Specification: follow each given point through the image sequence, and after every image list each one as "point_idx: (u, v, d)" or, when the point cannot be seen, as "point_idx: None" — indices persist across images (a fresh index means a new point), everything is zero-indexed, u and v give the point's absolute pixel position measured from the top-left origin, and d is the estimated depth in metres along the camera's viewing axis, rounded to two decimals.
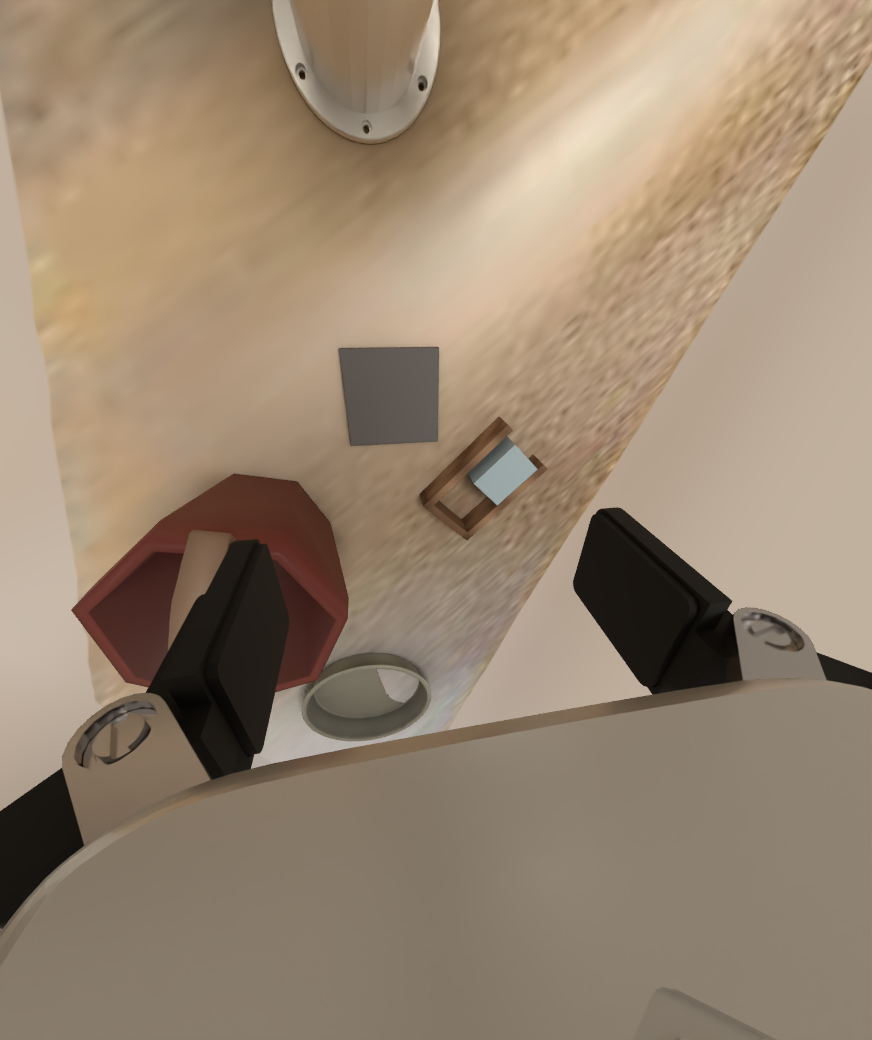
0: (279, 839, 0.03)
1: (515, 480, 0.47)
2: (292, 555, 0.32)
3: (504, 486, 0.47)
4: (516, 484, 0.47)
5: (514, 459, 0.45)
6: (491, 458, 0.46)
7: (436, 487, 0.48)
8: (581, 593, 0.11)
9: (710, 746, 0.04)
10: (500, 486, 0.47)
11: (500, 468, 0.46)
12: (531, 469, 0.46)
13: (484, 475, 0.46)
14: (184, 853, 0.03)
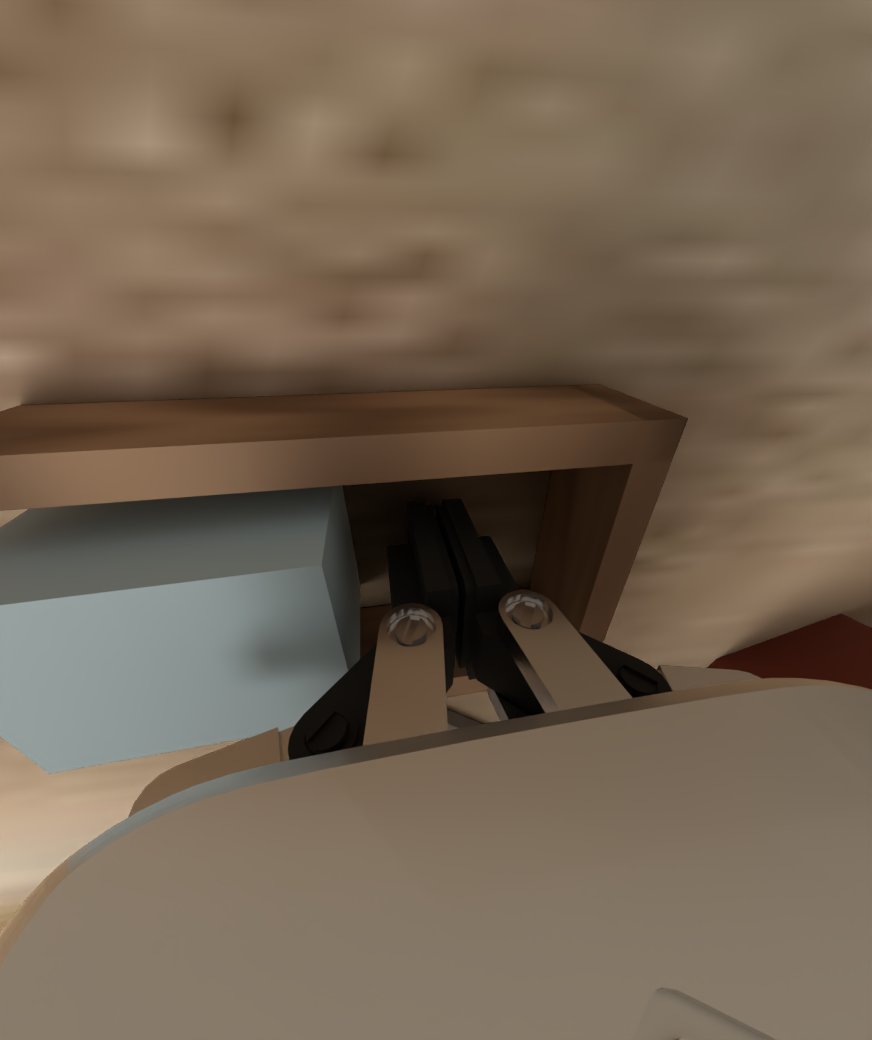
0: (279, 839, 0.03)
1: (108, 640, 0.07)
2: None
3: (202, 642, 0.07)
4: (103, 613, 0.06)
5: (74, 728, 0.08)
6: None
7: None
8: None
9: (711, 746, 0.04)
10: (235, 652, 0.07)
11: (185, 722, 0.08)
12: None
13: (288, 725, 0.09)
14: (184, 853, 0.03)
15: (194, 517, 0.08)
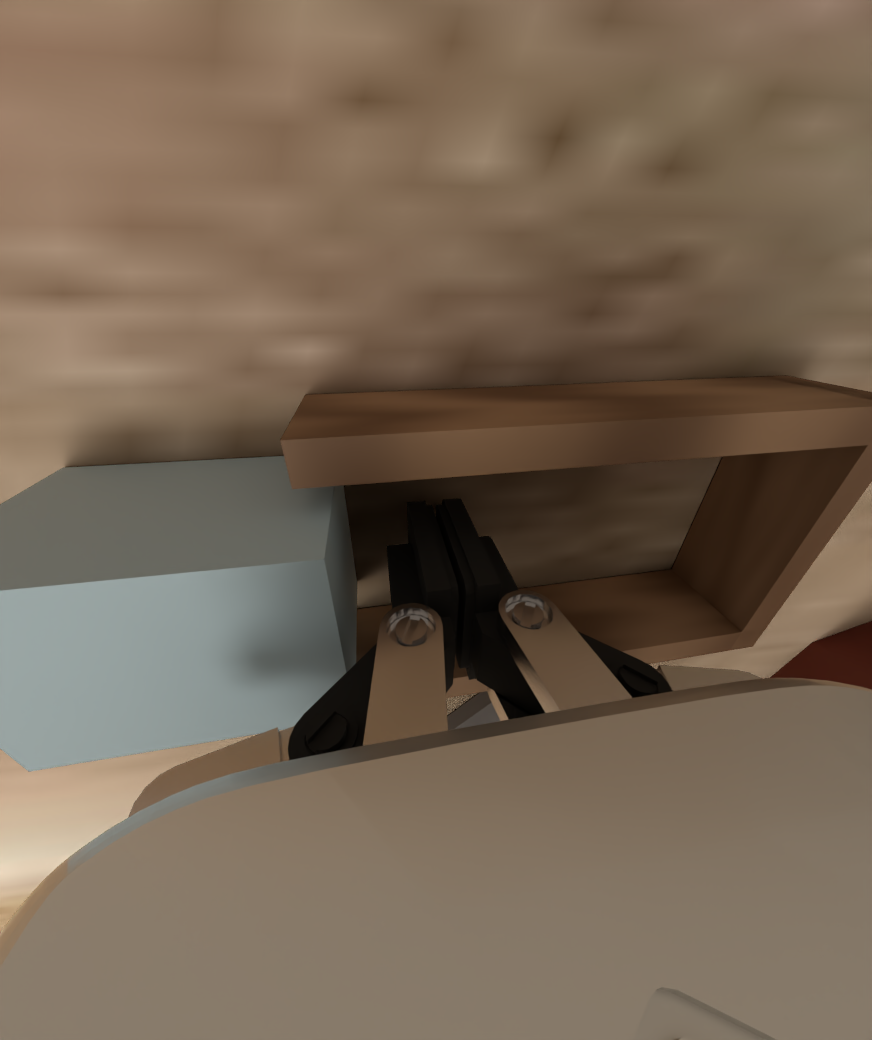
0: (279, 839, 0.03)
1: (96, 631, 0.06)
2: None
3: (196, 636, 0.07)
4: (94, 603, 0.06)
5: (58, 724, 0.07)
6: None
7: None
8: None
9: (710, 746, 0.04)
10: (231, 647, 0.07)
11: (174, 720, 0.08)
12: None
13: (281, 724, 0.09)
14: (182, 854, 0.03)
15: (191, 508, 0.08)
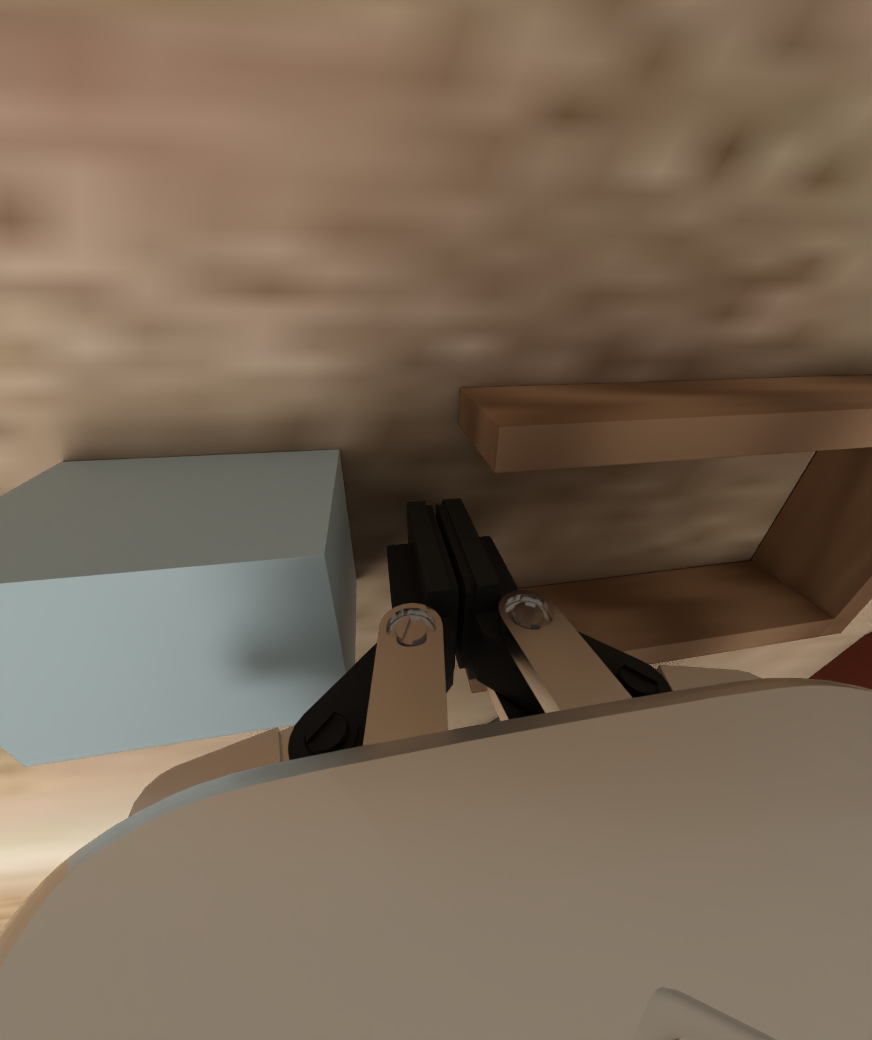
0: (279, 839, 0.03)
1: (95, 626, 0.06)
2: None
3: (194, 632, 0.07)
4: (91, 598, 0.06)
5: (55, 719, 0.07)
6: None
7: None
8: None
9: (711, 746, 0.04)
10: (229, 643, 0.07)
11: (172, 716, 0.08)
12: None
13: (280, 721, 0.09)
14: (184, 853, 0.03)
15: (190, 503, 0.08)
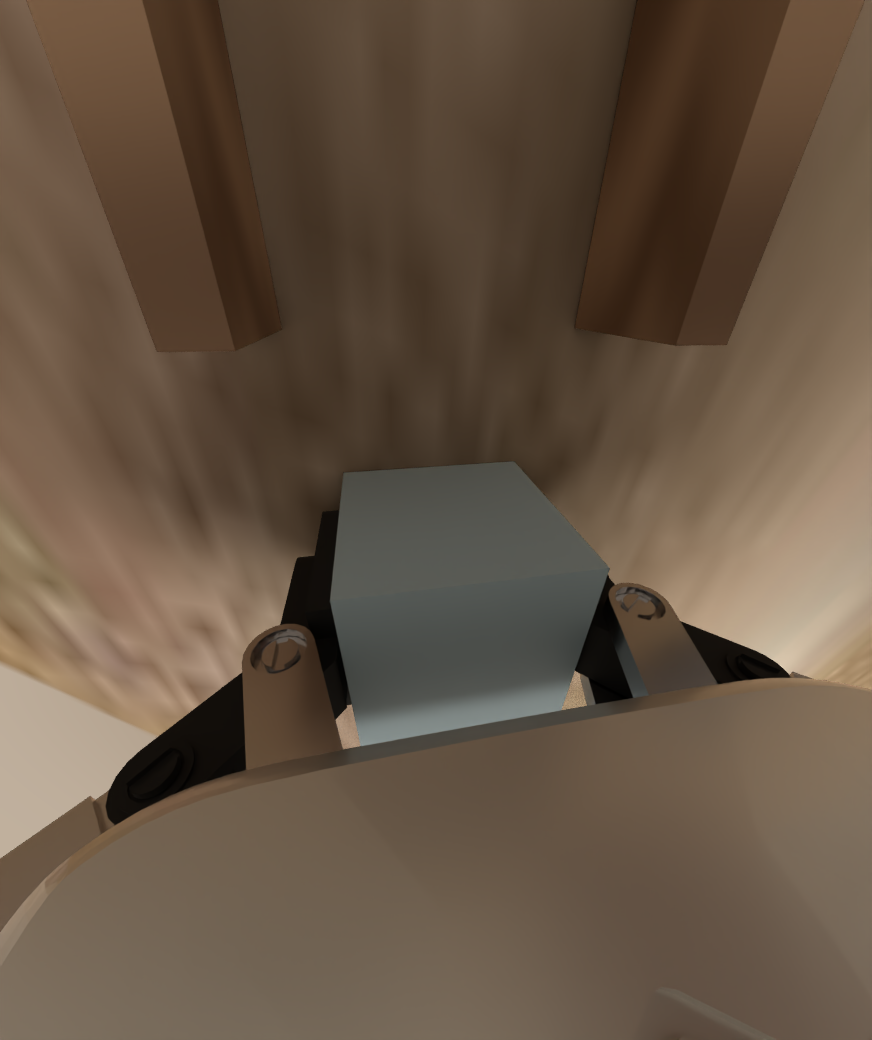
0: (279, 839, 0.03)
1: (406, 722, 0.08)
2: None
3: (422, 680, 0.07)
4: (377, 720, 0.08)
5: None
6: None
7: None
8: None
9: (711, 746, 0.04)
10: (443, 662, 0.07)
11: (527, 695, 0.08)
12: None
13: (579, 631, 0.07)
14: (184, 853, 0.03)
15: None
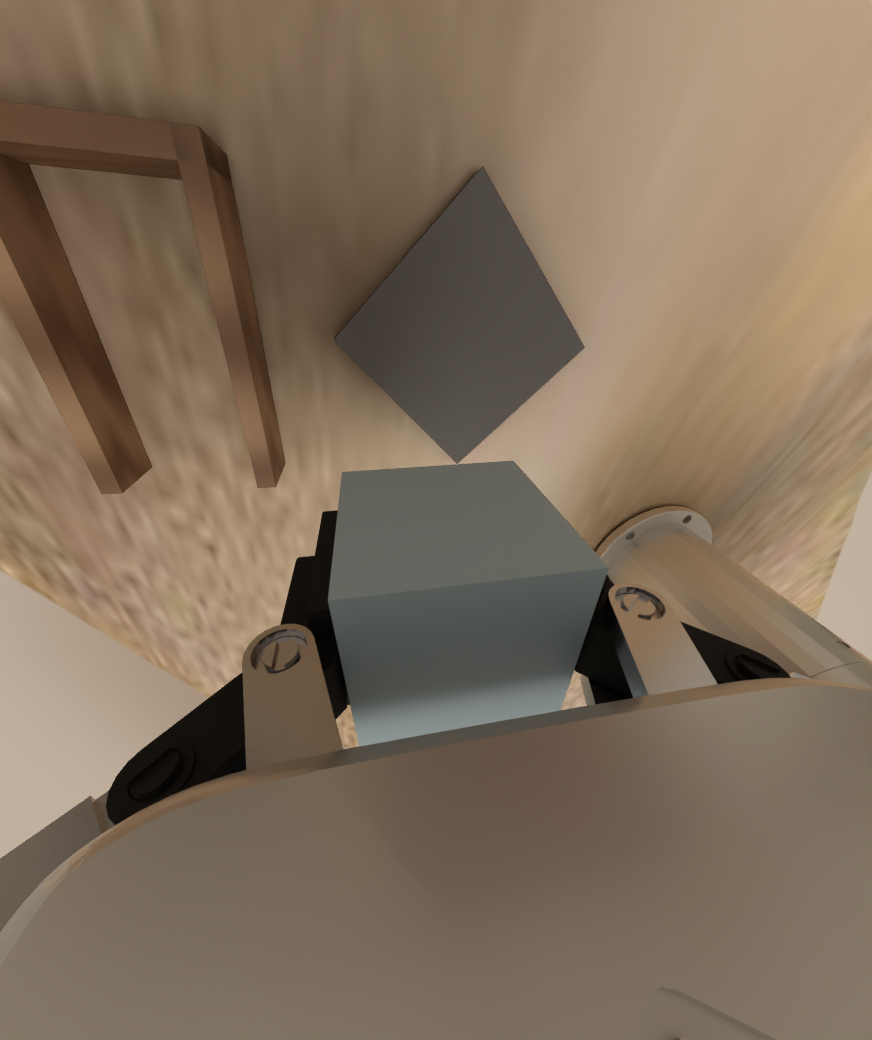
0: (279, 839, 0.03)
1: (405, 721, 0.08)
2: None
3: (421, 680, 0.07)
4: (376, 721, 0.08)
5: None
6: None
7: (228, 227, 0.16)
8: None
9: (710, 746, 0.04)
10: (441, 662, 0.07)
11: (526, 695, 0.08)
12: None
13: (578, 631, 0.07)
14: (183, 854, 0.03)
15: None
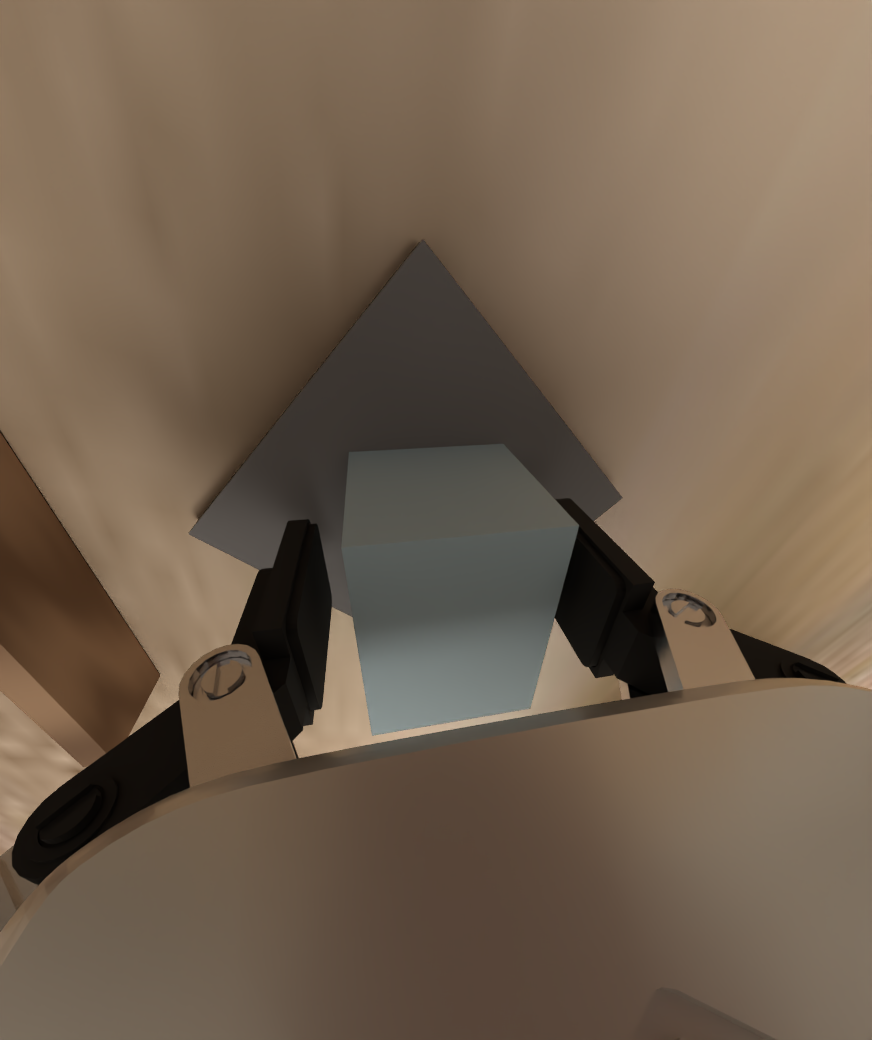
0: (279, 839, 0.03)
1: (405, 667, 0.09)
2: None
3: (419, 626, 0.09)
4: (379, 665, 0.09)
5: (488, 692, 0.11)
6: None
7: None
8: None
9: (711, 746, 0.04)
10: (437, 610, 0.08)
11: (511, 645, 0.10)
12: (393, 722, 0.11)
13: (555, 585, 0.09)
14: (184, 854, 0.03)
15: None
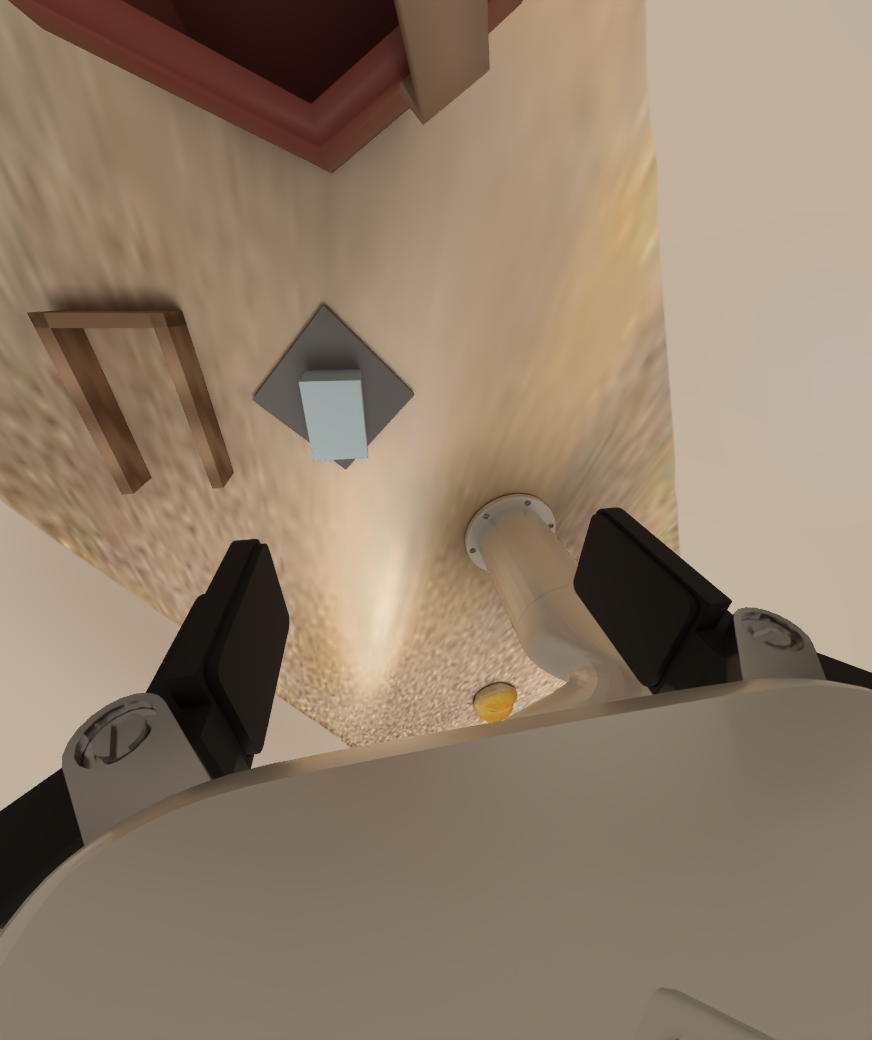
0: (279, 839, 0.03)
1: (320, 428, 0.32)
2: (288, 137, 0.14)
3: (322, 411, 0.31)
4: (312, 426, 0.32)
5: (350, 445, 0.33)
6: (364, 418, 0.34)
7: (183, 350, 0.30)
8: (581, 593, 0.11)
9: (710, 746, 0.04)
10: (326, 406, 0.31)
11: (352, 424, 0.32)
12: (319, 454, 0.33)
13: (359, 400, 0.31)
14: (184, 853, 0.03)
15: None
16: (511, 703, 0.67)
